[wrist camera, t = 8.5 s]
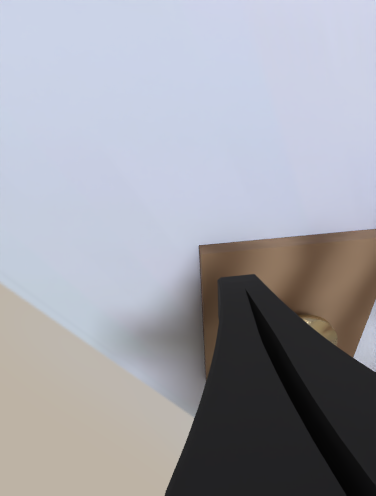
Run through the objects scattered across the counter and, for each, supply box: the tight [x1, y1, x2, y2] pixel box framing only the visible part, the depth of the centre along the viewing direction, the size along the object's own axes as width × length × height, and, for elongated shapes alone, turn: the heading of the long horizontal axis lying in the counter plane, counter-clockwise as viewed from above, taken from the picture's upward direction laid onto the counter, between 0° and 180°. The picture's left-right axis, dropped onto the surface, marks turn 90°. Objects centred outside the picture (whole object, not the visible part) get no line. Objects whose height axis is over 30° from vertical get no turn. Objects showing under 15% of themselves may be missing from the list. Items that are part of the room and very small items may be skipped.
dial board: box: [199, 229, 376, 381], centre depth 23 cm, size 14×16×3 cm
